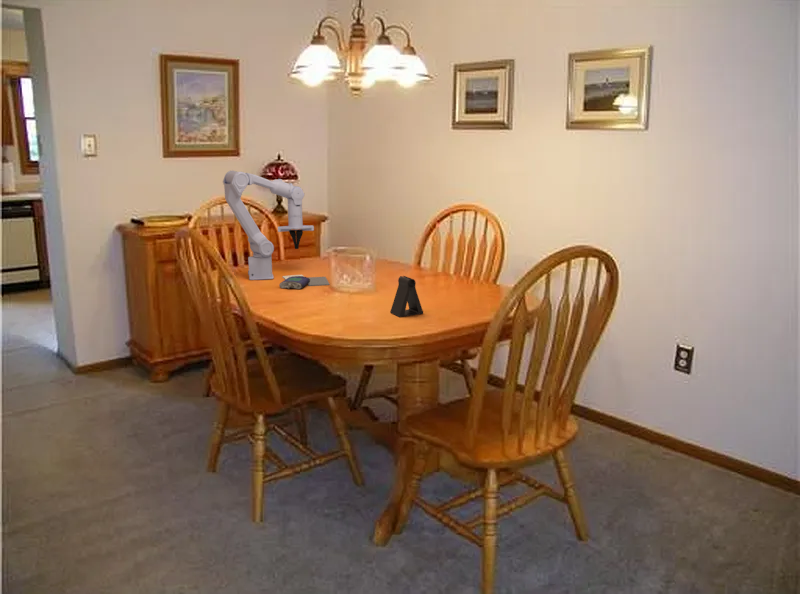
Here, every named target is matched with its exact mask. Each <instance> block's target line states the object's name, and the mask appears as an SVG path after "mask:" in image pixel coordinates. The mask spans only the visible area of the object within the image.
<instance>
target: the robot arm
mask: <svg viewBox="0 0 800 594" xmlns="http://www.w3.org/2000/svg"><path fill="white" fill-rule="evenodd" d="M293 184H294V183H291V182H285V181H283V179H281V178H278V179H276V178H275V179H274V180H269V179H267V178H265V177H262V176H260V175H257V174H255V173H250V172H244V171H236V170H229V171H227V172H226V173H225V174H224V178H223V180H222V185H223V188H224V199H225V202H226V203H227V205H228V207H229V208H230V209H231V211H232V213H233V214H234V216H235V218H236V219H237V221H238V222H239V224H240V226H241V228H242V229H243V230H244V232H245V234H246V235H247V237H248V238H247V241H248V243H249V249H250V250H251V252H252V255H251V256H248V260H247V261H248V270H247V274H248V277H249V278H248V279H249V281H253V280H254V281H256V280H273V279H275V276H274V274H273V263H272V262H273V261H272V259H273V258H272V254H273V253H274V250H275V246H274V244H273V242H272V241H270V240H268V238H267V236H265V235H264V234H263V233H262V232H261V230H260V229H259V227H258V225H257V223H256V222H255V220H254V218H253V217H252V216H251V213H250V212H249V210H248V209H247V207H246V204H244V202H243V200H242V199H241V198H242V195H243V192H244V191H245V189H246V188H247V186H252V185H255V186H260V187H262V188H265V189H269V191H270V192H271V194H273V195H276V196H280V197H283V198H285V199H287V216H288V219H287V223H288V225H283V226H277V232H278V233H281V232H282V233H283V232H288V233H289V235H290V236H291V239H292V242H293V245H294V250H299V247H300V246H299V245H300V242H301V240H302V239H301V238H302V236H303V234H304V232H308V231H309V232H313V231H315V227H314V225H311V224H310V225H308V224H307V225H305V224H304V223H303V199H304V197H305V192H304V190H303V188H302V187H301V186H298V185H293Z"/></svg>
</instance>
